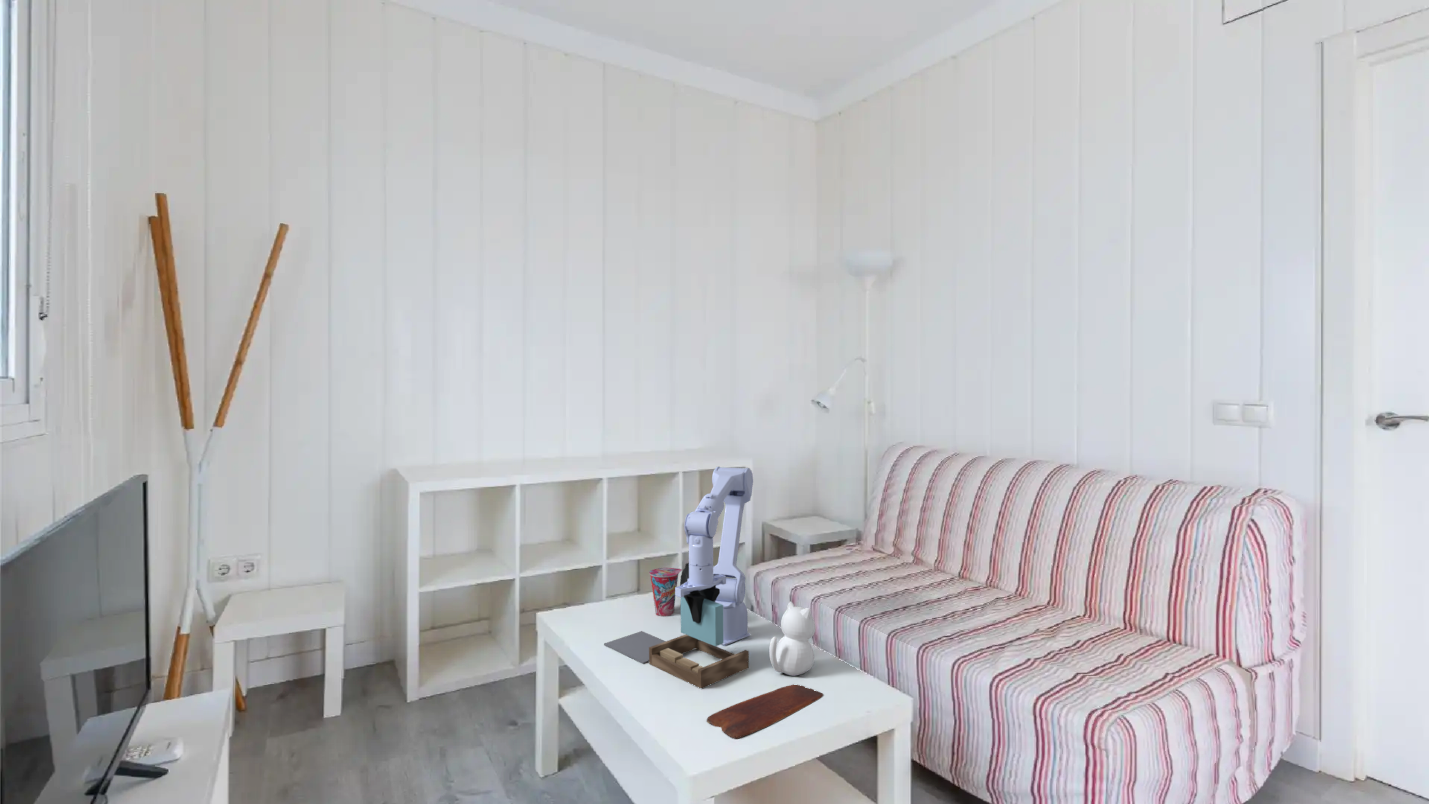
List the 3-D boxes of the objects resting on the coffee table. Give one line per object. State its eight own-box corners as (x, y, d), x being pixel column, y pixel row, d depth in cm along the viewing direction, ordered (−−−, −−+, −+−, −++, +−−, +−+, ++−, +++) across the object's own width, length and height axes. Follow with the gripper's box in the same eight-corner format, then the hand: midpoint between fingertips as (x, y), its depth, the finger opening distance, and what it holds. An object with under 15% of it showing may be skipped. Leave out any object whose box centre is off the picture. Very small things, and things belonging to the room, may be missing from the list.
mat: (641, 632, 185) (641, 630, 185) (681, 649, 173) (681, 648, 173) (604, 645, 176) (604, 643, 176) (643, 664, 165) (643, 662, 165)
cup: (667, 620, 193) (667, 577, 193) (643, 615, 198) (643, 573, 197) (687, 610, 201) (686, 569, 201) (663, 605, 206) (663, 565, 205)
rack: (696, 646, 175) (696, 630, 175) (748, 668, 162) (748, 651, 162) (649, 664, 165) (649, 647, 165) (701, 688, 152) (700, 670, 152)
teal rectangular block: (688, 629, 170) (688, 593, 169) (723, 643, 161) (723, 604, 161) (680, 632, 168) (680, 595, 168) (715, 646, 159) (715, 607, 159)
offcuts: (668, 660, 167) (667, 648, 167) (711, 680, 156) (711, 667, 156) (659, 663, 165) (659, 651, 165) (703, 683, 154) (703, 670, 154)
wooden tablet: (737, 744, 131) (737, 736, 130) (702, 724, 138) (702, 716, 138) (830, 699, 148) (830, 691, 148) (795, 683, 155) (795, 676, 155)
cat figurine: (825, 671, 161) (825, 606, 160) (785, 685, 153) (785, 617, 153) (797, 658, 168) (798, 596, 167) (758, 671, 160) (758, 606, 160)
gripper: (711, 554, 172) (712, 608, 172) (666, 565, 162) (666, 623, 162) (732, 559, 167) (732, 615, 167) (686, 572, 156) (687, 631, 157)
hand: (701, 620), depth 164 cm, fingers closed on teal rectangular block, 2 cm apart
